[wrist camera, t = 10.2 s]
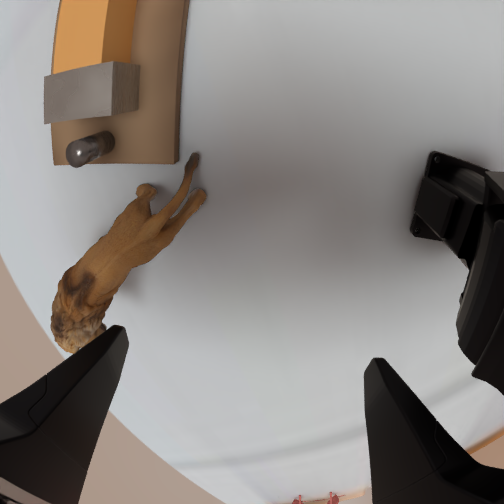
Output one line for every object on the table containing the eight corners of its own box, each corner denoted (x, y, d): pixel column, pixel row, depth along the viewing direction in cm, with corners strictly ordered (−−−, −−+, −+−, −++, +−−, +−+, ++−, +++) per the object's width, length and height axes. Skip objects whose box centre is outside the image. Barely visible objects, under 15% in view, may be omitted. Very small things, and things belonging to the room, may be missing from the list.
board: (209, -103, 7) (196, -133, 3) (178, 160, 18) (153, 180, 14) (89, -75, 7) (60, -91, 3) (61, 161, 18) (24, 180, 14)
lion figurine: (130, 300, 25) (89, 377, 17) (84, 266, 23) (30, 334, 15) (228, 174, 19) (197, 239, 11) (165, 126, 17) (89, 156, 9)
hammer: (164, -78, 8) (146, -99, 5) (138, 110, 16) (111, 115, 13) (100, -61, 8) (76, -76, 5) (76, 116, 16) (44, 124, 13)
